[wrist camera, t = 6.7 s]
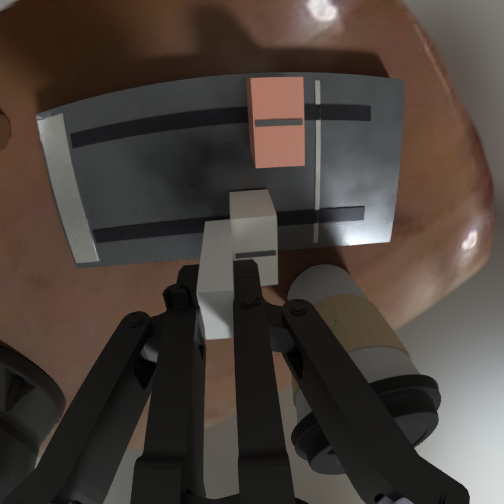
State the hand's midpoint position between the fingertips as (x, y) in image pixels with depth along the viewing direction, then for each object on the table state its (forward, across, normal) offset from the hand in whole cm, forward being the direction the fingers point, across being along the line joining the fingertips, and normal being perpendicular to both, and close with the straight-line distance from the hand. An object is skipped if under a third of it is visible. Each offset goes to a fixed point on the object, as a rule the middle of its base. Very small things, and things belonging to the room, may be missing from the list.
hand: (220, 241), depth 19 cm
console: (+5, 0, +3) cm, 6 cm away
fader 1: (+2, +3, +7) cm, 8 cm away
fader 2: (+2, +2, 0) cm, 3 cm away
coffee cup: (+5, +8, -8) cm, 12 cm away
